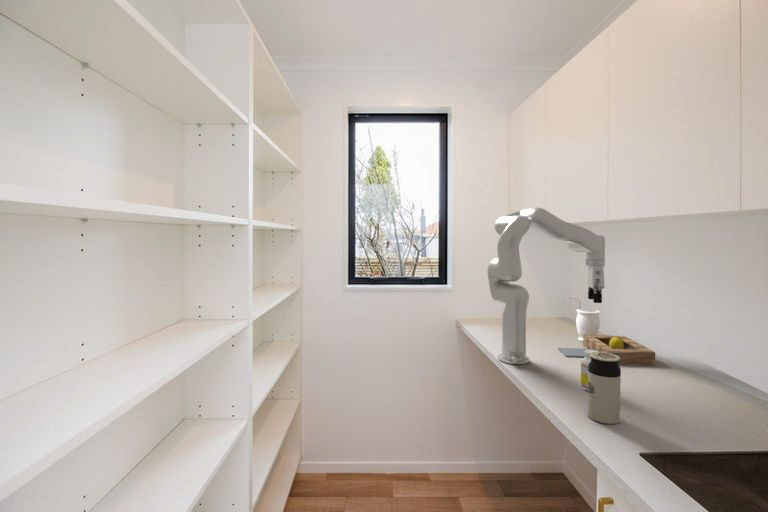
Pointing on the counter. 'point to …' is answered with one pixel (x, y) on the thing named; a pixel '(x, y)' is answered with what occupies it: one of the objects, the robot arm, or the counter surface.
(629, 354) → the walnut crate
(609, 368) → the travel mug
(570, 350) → the grey mat
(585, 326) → the jar
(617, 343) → the lemon
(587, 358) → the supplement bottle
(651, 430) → the counter surface
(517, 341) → the robot arm
